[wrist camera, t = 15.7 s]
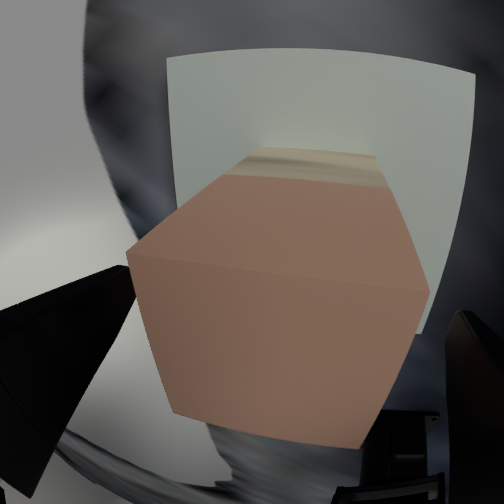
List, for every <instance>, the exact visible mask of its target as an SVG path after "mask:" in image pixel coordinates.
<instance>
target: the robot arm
mask: <svg viewBox="0 0 504 504" xmlns="http://www.w3.org/2000/svg"><path fill="white" fill-rule="evenodd" d="M135 298H136V293H135V289H134V285H133V281H132V277H131V273H130V269H129V267H128V266H123V265H116V266H113V267H111V268H108V269H105V270H103V271H100V272H97V273H95V274H92V275H89V276H87V277H84V278H81V279H79V280H76V281H74V282H71V283H68V284H66V285H63V286H61V287H58V288H56V289H53V290H51V291H48V292H45V293H43V294H40V295H38V296H36V297H33V298H30V299H28V300H25V301H23V302H20V303H19V304H15V305H13V306H10V307H8V308H6V309H3V310H0V482H1V480H4V481H5V482H6V483H8V484H9V485H10V486H12V487H13V488H15V489H16V490H18V491H19V492H20V493H22V494H23V495H25V496H26V497H28V498H29V499H30V498H31V497H32V496H33V494H34V492H35V489H36V487H37V485H38V483H39V481H40V479H41V477H42V474H43V472H44V470H45V468H46V466H47V464H48V462H49V460H50V458H51V456H52V454H53V452H54V450H55V448H56V447H55V446H56V445H57V444H58V442H59V440H60V438H61V436H62V434H63V432H64V430H65V428H66V426H67V424H68V422H69V420H70V418H71V417H72V415H73V413H74V411H75V409H76V407H77V406H78V404H79V402H80V400H81V398H82V396H83V395H84V393H85V391H86V389H87V387H88V385H89V384H90V382H91V380H92V379H93V377H94V375H95V373H96V372H97V370H98V368H99V366H100V365H101V363H102V361H103V360H104V358H105V356H106V354H107V353H108V351H109V349H110V348H111V346H112V344H113V343H114V341H115V339H116V337H117V335H118V333H119V331H120V329H121V327H122V325H123V323H124V321H125V319H126V317H127V315H128V313H129V311H130V309H131V307H132V305H133V303H134V300H135ZM445 362H446V399H447V411H448V426H449V453H450V477H449V503H448V504H504V341H503V340H502V339H501V338H500V337H499V336H498V335H497V334H496V333H495V332H494V331H493V330H491V329H490V328H489V327H488V326H487V325H486V324H485V323H484V322H483V321H482V320H481V319H479V318H478V317H477V316H476V315H475V314H474V313H473V312H472V311H468V310H458V311H456V313H455V314H454V317H453V319H452V321H451V324H450V326H449V328H448V331H447V333H446V336H445ZM439 419H440V414H439V413H438V412H405V411H385V410H380V412H379V414H378V416H377V418H376V420H375V421H374V423H373V425H372V427H371V429H370V431H369V432H368V434H367V436H366V438H365V439H364V441H363V443H362V444H361V446H360V448H361V449H363V454H362V465H361V474H360V482H359V486H355V487H344V486H340V487H337V489H336V492H335V494H334V495H333V498H332V501H331V504H445V478H444V472H441V473H438V474H437V475H432V476H428V468H427V439H426V436H427V435H428V433H429V432H430V431H431V430H432V428H433V427H434V426H435V424H436V423H437V422H438V420H439ZM435 496H436V499H433V500H428V498H430V497H435ZM0 504H6V501H5V494H4V489H3V488H2V487H0Z"/></svg>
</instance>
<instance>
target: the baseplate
mask: <svg viewBox="0 0 504 504" xmlns="http://www.w3.org/2000/svg"><path fill="white" fill-rule="evenodd" d="M167 80H168V101H169V118H170V133H171V146H172V158H173V169H174V180H175V190H176V199H177V209H178V208H179V207H181V206H182V205H183V204H185V203H186V202H187V201H188V200H190V199H191V198H192V197H193V196H195V195H196V194H197V193H199V192H200V191H201V190H202V189H204V188H205V187H206V186H208V185H209V184H210V183H212V182H213V181H214V180H216V179H217V178H218V177H220V176H221V175H222V174H224V173H225V172H227V171H228V170H229V169H231V168H232V167H233V166H235V165H236V164H238V163H239V162H240V161H242V160H243V159H244V158H246V157H247V156H248V155H250V154H251V153H253V152H254V151H255V150H257V149H258V148H260V147H261V146H263V147H284V148H299V149H313V150H325V151H336V152H345V153H355V154H363V155H372V156H375V158H376V160H377V162H378V164H379V166H380V168H381V170H382V173H383V175H384V177H385V179H386V181H387V183H388V185H389V188H390V189H391V191H392V193H393V195H394V198H395V200H396V202H397V204H398V207H399V209H400V211H401V214H402V216H403V219H404V221H405V223H406V226H407V228H408V231H409V233H410V236H411V238H412V241H413V244H414V246H415V249H416V252H417V254H418V257H419V260H420V263H421V265H422V268H423V271H424V274H425V277H426V280H427V283H428V286H429V289H430V295H429V298H428V300H427V303H426V306H425V309H424V312H423V315H422V317H421V320H420V323H419V325H418V328H417V331H416V333H415V334H421V333H422V330H423V328H424V325H425V323H426V320H427V317H428V315H429V312H430V309H431V306H432V304H433V301H434V298H435V295H436V292H437V289H438V286H439V283H440V280H441V277H442V273H443V270H444V267H445V264H446V260H447V257H448V253H449V249H450V246H451V242H452V238H453V234H454V230H455V226H456V222H457V218H458V213H459V209H460V204H461V199H462V194H463V189H464V183H465V178H466V172H467V165H468V159H469V151H470V144H471V135H472V125H473V113H474V98H475V74H472V73H469V72H465V71H461V70H457V69H453V68H449V67H445V66H441V65H437V64H432V63H427V62H422V61H417V60H412V59H406V58H400V57H394V56H387V55H380V54H372V53H364V52H354V51H343V50H328V49H304V48H269V49H244V50H229V51H218V52H208V53H199V54H191V55H184V56H177V57H170V58H167Z"/></svg>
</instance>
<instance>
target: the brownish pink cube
mask: <svg viewBox="0 0 504 504" xmlns="http://www.w3.org/2000/svg"><path fill="white" fill-rule="evenodd" d="M126 256H127V260H128V264H129V269H130V273H131V277H132V281H133V285H134V289H135V293H136V297H137V301H138V305H139V309H140V312H141V316H142V319H143V323H144V326H145V330H146V333H147V337H148V340H149V343H150V347H151V350H152V353H153V356H154V359H155V362H156V365H157V369H158V372H159V374H160V377H161V380H162V383H163V386H164V389H165V392H166V394H167V397H168V400H169V403H170V406H171V408H172V411H173V413H176V414H179V415H182V416H186V417H189V418H192V419H196V420H199V421H202V422H206V423H210V424H213V425H217V426H221V427H225V428H229V429H233V430H237V431H242V432H246V433H251V434H255V435H260V436H265V437H270V438H276V439H281V440H287V441H293V442H299V443H306V444H313V445H321V446H329V447H338V448H348V449H359V448H360V446H361V444H362V443H363V441H364V439H365V438H366V436H367V434H368V432H369V431H370V429H371V427H372V425H373V423H374V421H375V420H376V418H377V416H378V414H379V412H380V410H381V408H382V406H383V404H384V402H385V400H386V398H387V396H388V394H389V392H390V390H391V388H392V386H393V384H394V382H395V380H396V378H397V375H398V373H399V371H400V369H401V367H402V364H403V362H404V360H405V357H406V355H407V353H408V350H409V348H410V346H411V343H412V341H413V338H414V336H415V333H416V331H417V328H418V325H419V323H420V320H421V317H422V315H423V312H424V309H425V306H426V303H427V300H428V298H429V295H430V289H429V286H428V283H427V280H426V277H425V274H424V271H423V268H422V265H421V263H420V260H419V257H418V254H417V252H416V249H415V246H414V244H413V241H412V238H411V236H410V233H409V231H408V228H407V226H406V223H405V221H404V219H403V216H402V214H401V211H400V209H399V207H398V204H397V202H396V200H395V198H394V195H393V193H392V191H391V189H384V188H376V187H368V186H360V185H351V184H342V183H333V182H323V181H313V180H302V179H290V178H276V177H262V176H245V175H225V174H222V175H221V176H220V177H218V178H217V179H216V180H214V181H213V182H212V183H210V184H209V185H208V186H206V187H205V188H204V189H202V190H201V191H200V192H199V193H197V194H196V195H195V196H193V197H192V198H191V199H190V200H188V201H187V202H186V203H185V204H183V205H182V206H181V207H179V208H178V209H177V210H176V211H174V212H173V213H172V214H171V215H170V216H168V217H167V218H166V219H165V220H163V221H162V222H161V223H160V224H158V225H157V226H156V227H155V228H154V229H152V230H151V231H150V232H149V233H148V234H146V235H145V236H144V237H143V238H142V239H141V240H139V241H138V242H137V243H136V244H135V245H133V246H132V247H131V248H130V249H129V250H128V251H127V252H126Z"/></svg>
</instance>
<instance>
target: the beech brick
mask: <svg viewBox="0 0 504 504" xmlns="http://www.w3.org/2000/svg"><path fill="white" fill-rule="evenodd" d="M224 174H225V175H245V176H262V177H276V178H290V179H302V180H313V181H323V182H333V183H342V184H351V185H360V186H368V187H376V188H384V189H390V188H389V185H388V183H387V181H386V179H385V177H384V175H383V173H382V170H381V168H380V166H379V164H378V162H377V160H376V158H375V156H372V155H363V154H355V153H345V152H336V151H325V150H313V149H299V148H284V147H263V146H261V147H260V148H258V149H257V150H255V151H254V152H253V153H251V154H250V155H248V156H247V157H246V158H244V159H243V160H242V161H240V162H239V163H238V164H236V165H235V166H233V167H232V168H231V169H229V170H228V171H227V172H225V173H224Z"/></svg>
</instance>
